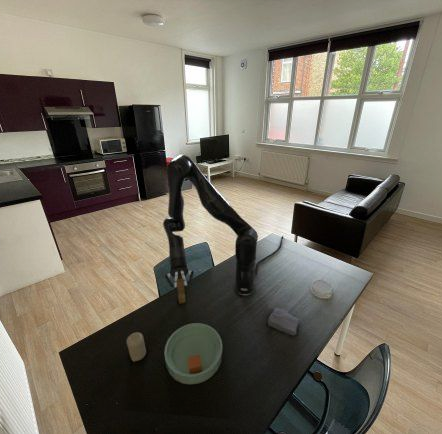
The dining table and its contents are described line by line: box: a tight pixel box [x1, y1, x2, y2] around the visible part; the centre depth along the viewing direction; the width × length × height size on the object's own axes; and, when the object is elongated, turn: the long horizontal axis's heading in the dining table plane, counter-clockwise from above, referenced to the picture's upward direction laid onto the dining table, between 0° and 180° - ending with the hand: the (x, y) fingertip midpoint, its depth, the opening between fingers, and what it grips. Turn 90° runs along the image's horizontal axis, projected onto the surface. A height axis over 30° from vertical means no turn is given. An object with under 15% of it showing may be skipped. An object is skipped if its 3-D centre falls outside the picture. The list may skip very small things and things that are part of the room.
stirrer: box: [177, 278, 187, 305], centre depth 109 cm, size 3×3×12 cm
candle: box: [126, 331, 147, 363], centre depth 85 cm, size 6×6×10 cm
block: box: [188, 355, 202, 374], centre depth 81 cm, size 4×4×4 cm
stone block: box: [267, 307, 300, 336], centre depth 100 cm, size 12×5×10 cm
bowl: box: [163, 322, 223, 385], centre depth 86 cm, size 20×20×5 cm
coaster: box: [310, 279, 334, 300], centre depth 117 cm, size 10×10×4 cm
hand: (181, 295), depth 107 cm, fingers closed on stirrer, 3 cm apart
